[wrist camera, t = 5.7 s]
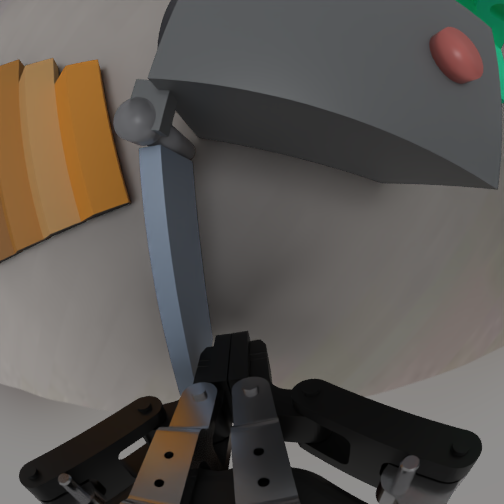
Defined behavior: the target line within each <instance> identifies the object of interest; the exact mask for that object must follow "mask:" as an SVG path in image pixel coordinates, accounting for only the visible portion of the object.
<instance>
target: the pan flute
mask: <svg viewBox="0 0 504 504" xmlns="http://www.w3.org/2000/svg"><path fill="white" fill-rule="evenodd" d="M130 203H131V202H130V199H129V196H128V192H127V189H126V185H125V181H124V178H123V174H122V170H121V167H120V163H119V159H118V155H117V151H116V146H115V142H114V138H113V133H112V129H111V124H110V120H109V115H108V110H107V105H106V99H105V94H104V88H103V82H102V76H101V70H100V66H99V63H98V60H92V61H86V62H81V63H76V64H72V65H67V66H65V68H64V69H63V71H62V73H61V74H60V76H59V71H58V66H57V64H56V63H55V61H54V59H53V58H51V59H47V60H43V61H40V62H36V63H33V64H30V65H26V66H25V67H24V65H23V64H22V63H21V61H20V60H16V61H13V62H10V63H7V64H4V65H2V66H0V263H1V262H3V261H5V260H7V259H9V258H11V257H13V256H15V255H17V254H19V253H21V252H22V251H23V250H25V249H28V248H30V247H32V246H34V245H36V244H38V243H40V242H42V241H45V240H47V239H49V238H51V236H54V235H56V234H59V233H61V232H64V231H66V230H68V229H70V228H72V227H75V226H77V225H79V224H82V223H84V222H86V221H87V220H88V219H91V218H95V217H98V216H100V215H103V214H105V213H108V212H110V211H113V210H115V209H118V208H120V207H123V206H125V205H128V204H130Z"/></svg>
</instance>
